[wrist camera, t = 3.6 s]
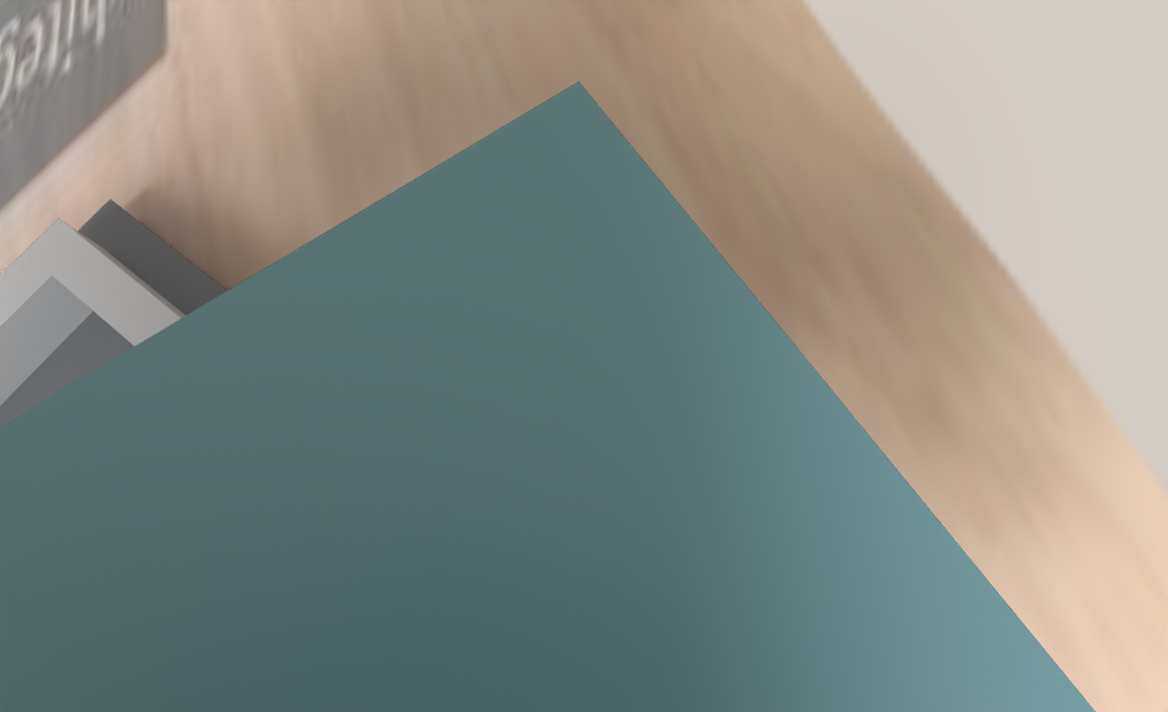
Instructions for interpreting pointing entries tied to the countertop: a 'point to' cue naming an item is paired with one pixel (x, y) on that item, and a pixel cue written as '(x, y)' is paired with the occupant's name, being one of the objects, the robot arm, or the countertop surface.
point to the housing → (487, 483)
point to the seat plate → (88, 303)
